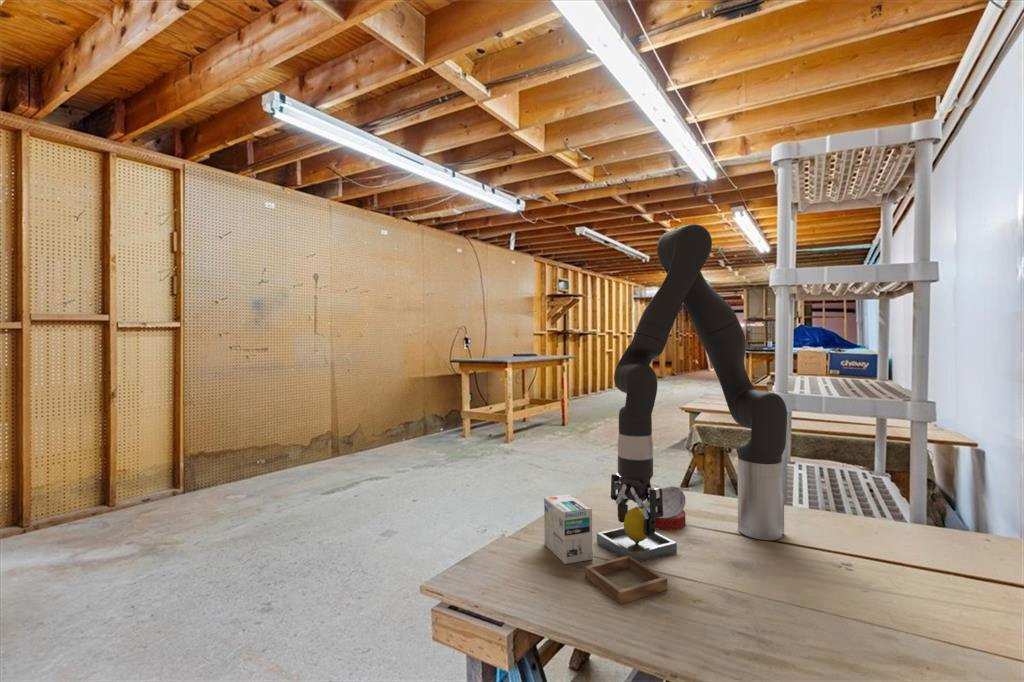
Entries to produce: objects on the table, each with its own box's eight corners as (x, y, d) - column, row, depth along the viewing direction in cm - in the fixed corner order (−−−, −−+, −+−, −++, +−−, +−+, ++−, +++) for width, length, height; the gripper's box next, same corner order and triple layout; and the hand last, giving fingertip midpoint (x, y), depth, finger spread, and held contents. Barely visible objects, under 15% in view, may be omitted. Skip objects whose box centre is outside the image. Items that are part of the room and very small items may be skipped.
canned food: (686, 546, 117) (697, 517, 112) (644, 541, 117) (654, 512, 112) (674, 509, 127) (684, 481, 122) (636, 505, 127) (645, 477, 122)
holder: (628, 565, 97) (628, 555, 97) (667, 589, 88) (667, 578, 88) (585, 577, 93) (585, 566, 93) (620, 604, 83) (620, 592, 83)
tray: (638, 532, 114) (638, 523, 114) (676, 553, 103) (676, 542, 103) (596, 542, 108) (596, 532, 108) (632, 565, 98) (632, 554, 98)
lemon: (651, 540, 107) (652, 504, 107) (647, 550, 102) (647, 513, 102) (626, 536, 109) (626, 501, 109) (621, 545, 104) (621, 508, 104)
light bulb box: (593, 560, 100) (593, 508, 100) (564, 565, 98) (564, 512, 98) (570, 540, 110) (569, 492, 110) (543, 544, 108) (542, 496, 108)
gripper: (672, 459, 101) (672, 536, 101) (627, 445, 113) (627, 514, 114) (644, 463, 97) (644, 543, 97) (601, 449, 110) (601, 520, 110)
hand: (635, 528), depth 106 cm, fingers open, 8 cm apart
